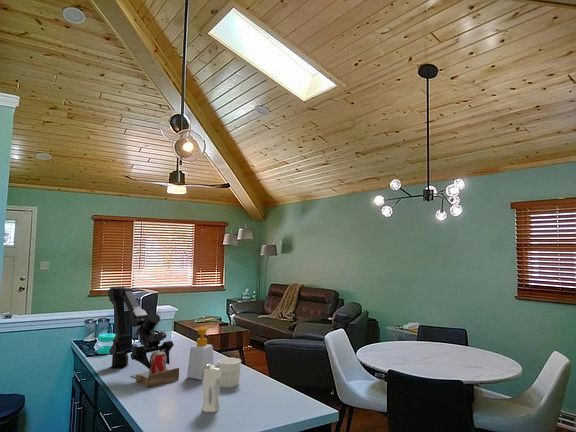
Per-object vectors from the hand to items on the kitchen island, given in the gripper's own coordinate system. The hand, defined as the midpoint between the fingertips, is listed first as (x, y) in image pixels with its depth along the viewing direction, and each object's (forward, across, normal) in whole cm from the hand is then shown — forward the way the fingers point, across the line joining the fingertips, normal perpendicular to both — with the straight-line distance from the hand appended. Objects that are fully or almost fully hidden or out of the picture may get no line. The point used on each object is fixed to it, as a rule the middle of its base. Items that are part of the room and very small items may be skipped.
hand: (159, 366), depth 174 cm
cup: (+23, +18, -13) cm, 32 cm away
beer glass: (+34, -5, -25) cm, 42 cm away
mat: (-3, 0, +13) cm, 13 cm away
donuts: (-41, +8, +51) cm, 66 cm away
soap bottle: (+10, +18, -1) cm, 21 cm away
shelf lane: (+4, 0, +6) cm, 7 cm away
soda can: (+4, 0, +6) cm, 7 cm away
